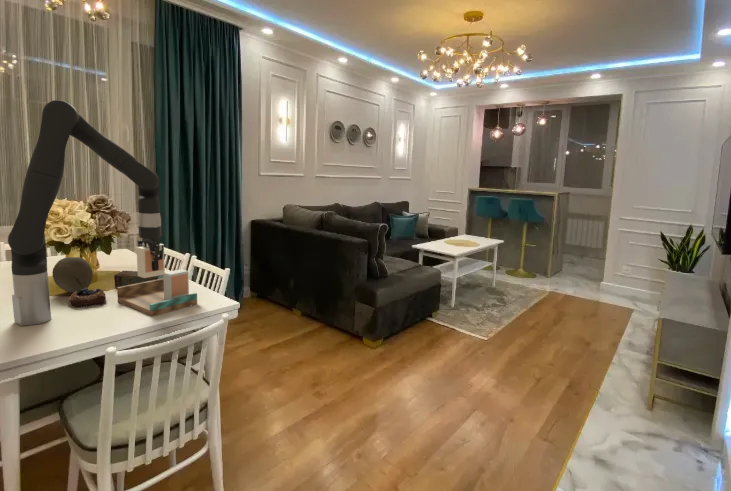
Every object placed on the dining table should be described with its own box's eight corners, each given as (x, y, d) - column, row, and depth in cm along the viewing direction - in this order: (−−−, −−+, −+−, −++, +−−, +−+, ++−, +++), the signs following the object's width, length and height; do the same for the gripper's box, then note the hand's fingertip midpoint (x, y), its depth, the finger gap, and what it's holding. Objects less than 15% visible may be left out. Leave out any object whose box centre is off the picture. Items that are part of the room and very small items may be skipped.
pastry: (107, 304, 161) (107, 290, 160) (70, 309, 154) (69, 294, 153) (104, 297, 170) (103, 283, 169) (68, 301, 162) (67, 287, 161)
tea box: (144, 278, 152) (143, 249, 150) (137, 275, 155) (136, 247, 153) (165, 274, 159) (164, 246, 157) (158, 272, 161) (157, 244, 159)
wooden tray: (151, 316, 152) (151, 300, 151) (117, 301, 164) (117, 287, 163) (197, 304, 168) (197, 289, 167) (163, 291, 180) (162, 278, 179)
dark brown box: (158, 290, 183) (158, 275, 181) (113, 288, 181) (112, 274, 180) (166, 285, 190) (165, 271, 189) (122, 283, 189) (122, 269, 188)
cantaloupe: (100, 287, 180) (98, 254, 178) (83, 297, 167) (81, 261, 164) (65, 287, 178) (62, 253, 176) (45, 297, 165) (42, 260, 162)
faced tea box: (171, 301, 163) (170, 274, 161) (164, 299, 165) (163, 272, 163) (189, 297, 169) (188, 271, 167) (182, 294, 172) (181, 269, 170)
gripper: (129, 223, 154) (131, 267, 157) (150, 228, 146) (152, 274, 150) (148, 221, 160) (150, 264, 163) (170, 226, 153) (171, 271, 156)
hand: (151, 269), depth 156 cm, fingers closed on tea box, 4 cm apart
